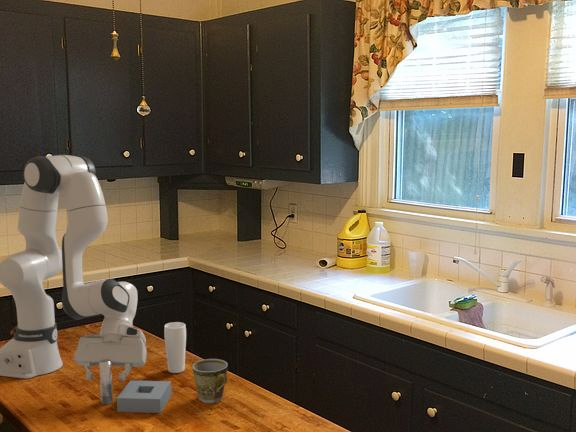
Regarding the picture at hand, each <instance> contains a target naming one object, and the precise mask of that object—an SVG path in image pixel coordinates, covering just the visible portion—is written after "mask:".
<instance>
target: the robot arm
mask: <svg viewBox="0 0 576 432" xmlns="http://www.w3.org/2000/svg"><path fill="white" fill-rule="evenodd" d="M96 173H97V172H96V167H95V165H94V162H92V160H91V159H90V158H88V157H85V156H82V155H68V154H58V155H48V156H47V155H39V156H36V157H35V156H34V157H32V158H30V159H28V160H27V161H26V163H25V165H24V168H23V173H22V174H23V175H22V177H23V180H24V184H23V185H22V190H21V194H20V199H19V201H20V202H19V209H18V211H19V212H18V220H17V230H18V232H19V234H21V235H22V236H24V239H25V241H24V242H25V249H24V250H22V251H18V252H15V253H11V254H10V255H9V256H7V257H6V258H4V259H3V260H1V261H0V284H1V285H2V286H3V287H4V288H6V289H8V291H9V292H10V293H11V295H12V297H13V299H14V303H15V307H16V317H17V318H16V319H17V325H16V326H15V327H13V329H12V330H10V331H9V332H10V335H13V337H12V338H11V339H10V340H9V341H8V342H7V343H5V344H4V345H3V346H2V347H0V377H7V378H10V377H11V378H16V379H17V378H18V379H26V380H27V379H30V378H33V377H37V376H41V375H47V374H49V373H53V372H56V371H57V370H59V369H61V367H63V364H64V362H63V360H62V358H61V355H60V351H59V346H58V328H57V327H58V326H57V322H55V321H56V318H55V303H54V298H52V297H51V296H50V295H48V294H47V293H46V291H45V288H44V286H43V282H44V281H46V280H49V279H51V278H53V277H55V276H56V275H58V274H59V273H60V272H61V271H62V283H63V284H62V286H63V287H62V294H61V307H62V309H63V311H64V312H65V314H66V315H67V316H69V317H70V318H72V319H73V320H77V321H78V320H82V319H86V318H89V317H92V316H98V315H102V316H104V319H103V321H102V324H101V328H100V332H99V333H96V334H95V333H94V334H90V333H86V334H85V335H82V336H80V338H79V340H78V344H77V347H76V350H75V352H74V356H73V360H74V361H75V363H76V364H77V365H78V366H84V370H85V371H86V374H85V379H86V381H93V379H94V373H93V372H92V371H91V369H92V368H93V367H99V361H101V360H105V359H108V360H111V367H124V368H125V369H123V371H122V372H119V373H118V381H122V382H125V381H126V378H127V376H128V374H130V372H131V371H132V368H142V367H143V366H145V364H146V361H147V350H148V349H147V347H146V343H147V339H146V336H145V334H144V333H143V331H142V330H141V329H139V328H136V327H134V325H133V321H134V318H135V316H136V313H137V306H138V301H139V299H138V297H139V296H138V289H137V288H136V286H135V285H134V284H132V283H130V282H127V281H116V280H115V279H114V278H105V279H99V280H96V281H92V282H87V283H85V282H84V278H83V277H84V276H83V271H84V270H83V255H84V251H85V250H86V249H87V247H88V246H89V245H91V243H92V242H94V241H96V240H97V239H99V237H101V236H102V235H103V233H104V232H105V230H106V229H107V226H108V224H109V223H108V222H109V221H108V220H109V219H108V218H109V216H108V215H109V214H108V210H107V206H106V205H107V204H106V201H105V197H104V193H103V189H102V187H101V184H100V182H99V180H98V178H97V176H96V175H97V174H96ZM60 195H62V196H63V198H64V202H65V208H66V209H65V210H66V213H67V214H66V215H67V223H66V224H67V226H66V230H65V233H64V234H63V236H62V239H61V248H60V246H59V244H58V239H57V232H56V231H57V221H58V219H57V218H58V209H59V196H60Z"/></svg>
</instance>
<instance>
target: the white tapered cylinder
mask: <svg viewBox="0 0 576 432" xmlns="http://www.w3.org/2000/svg"><path fill="white" fill-rule="evenodd" d="M163 327H164V331H163V333H164V337H163V338H164V345H165V346H164V347H165V352H166V354H165V355H166V361H167V371H168V372H169V373H170V374H180V373H182V372H184V371H185V370H186V363H185V362H186V347H187V328H186V323H184V322H180V321H175V322H173V321H172V322H168V323H165V325H164V326H163Z"/></svg>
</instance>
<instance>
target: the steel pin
mask: <svg viewBox="0 0 576 432" xmlns="http://www.w3.org/2000/svg"><path fill="white" fill-rule="evenodd" d="M98 367H99V380H100V381H99V382H100V383H99V384H100V385H99V387H100V403H101V404H102V405H110V404H112V403H114V395H113V378H112V377H113V375H112V372H113V371H112V366H111V360H108V359H105V360H101V361H99V366H98Z"/></svg>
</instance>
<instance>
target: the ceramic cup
mask: <svg viewBox="0 0 576 432" xmlns="http://www.w3.org/2000/svg"><path fill="white" fill-rule="evenodd" d="M228 365H229V364H228V362H227V361H226V360H223V359H219V358H208V359H207V358H206V359H202V360H201V359H200V360H198V361H196V362H194V363H193V364H192V373H193V378H194V382H195V387H196V392H197V396H198V400H199V401H201V402H202V403H204V404H216V403H218V402H221V401H222V399H223V397H224V389H225V385H226V384H227V382H228V378H227V374H228V373H227V372H228V367H229V366H228Z"/></svg>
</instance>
